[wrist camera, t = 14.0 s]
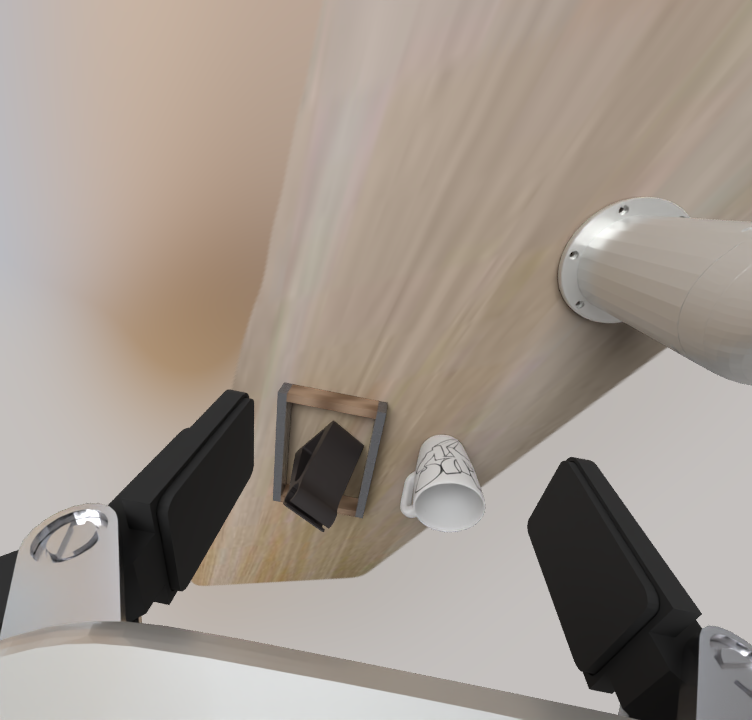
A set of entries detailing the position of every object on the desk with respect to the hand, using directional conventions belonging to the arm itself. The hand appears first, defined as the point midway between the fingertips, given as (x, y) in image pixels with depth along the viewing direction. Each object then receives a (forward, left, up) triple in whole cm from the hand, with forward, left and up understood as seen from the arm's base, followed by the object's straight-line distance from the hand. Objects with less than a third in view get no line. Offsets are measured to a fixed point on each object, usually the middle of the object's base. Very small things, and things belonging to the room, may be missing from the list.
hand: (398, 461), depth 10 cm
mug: (-10, +25, -31) cm, 41 cm away
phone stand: (+6, +28, -31) cm, 42 cm away
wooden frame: (+6, +28, -30) cm, 42 cm away
